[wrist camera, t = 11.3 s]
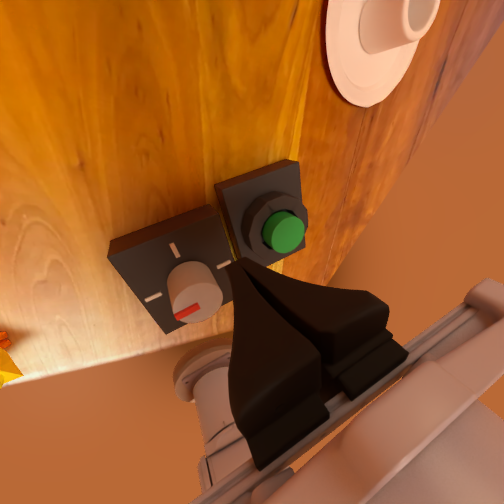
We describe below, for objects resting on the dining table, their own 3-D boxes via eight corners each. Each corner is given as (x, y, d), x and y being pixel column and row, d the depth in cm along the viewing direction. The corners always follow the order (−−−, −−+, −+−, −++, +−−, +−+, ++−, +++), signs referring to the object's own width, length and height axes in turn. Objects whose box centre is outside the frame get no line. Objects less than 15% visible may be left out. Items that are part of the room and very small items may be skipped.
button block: (295, 240, 27) (315, 254, 24) (239, 266, 25) (254, 285, 22) (286, 158, 22) (311, 163, 19) (213, 184, 20) (228, 195, 17)
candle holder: (373, 126, 25) (411, 126, 21) (298, 65, 18) (335, 50, 15) (437, -6, 21) (496, -33, 17) (370, -144, 14) (443, -228, 11)
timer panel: (235, 279, 26) (245, 294, 24) (162, 314, 24) (166, 336, 21) (208, 203, 20) (219, 213, 18) (110, 240, 18) (106, 258, 16)
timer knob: (202, 253, 19) (215, 276, 16) (216, 285, 21) (230, 310, 18) (158, 273, 18) (163, 302, 15) (178, 304, 20) (185, 334, 17)
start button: (295, 237, 22) (306, 244, 21) (265, 251, 21) (274, 259, 20) (291, 205, 20) (303, 210, 19) (258, 219, 19) (268, 226, 18)
